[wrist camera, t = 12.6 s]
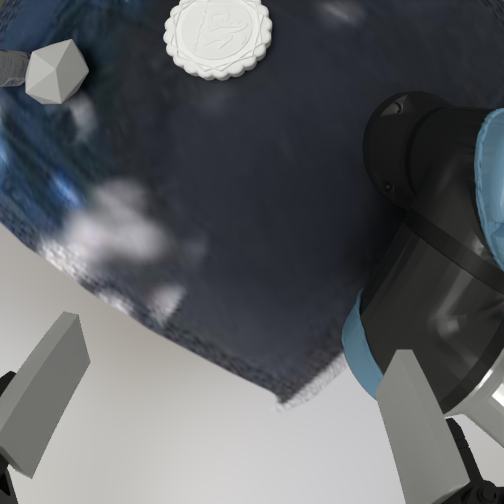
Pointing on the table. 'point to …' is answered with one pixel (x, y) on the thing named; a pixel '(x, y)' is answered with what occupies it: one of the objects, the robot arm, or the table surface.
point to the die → (55, 72)
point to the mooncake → (218, 36)
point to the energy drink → (13, 67)
